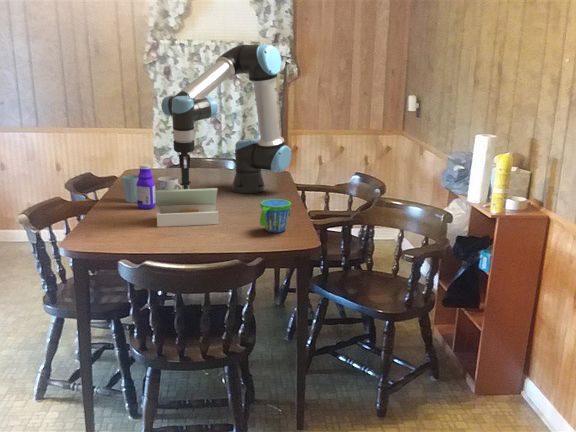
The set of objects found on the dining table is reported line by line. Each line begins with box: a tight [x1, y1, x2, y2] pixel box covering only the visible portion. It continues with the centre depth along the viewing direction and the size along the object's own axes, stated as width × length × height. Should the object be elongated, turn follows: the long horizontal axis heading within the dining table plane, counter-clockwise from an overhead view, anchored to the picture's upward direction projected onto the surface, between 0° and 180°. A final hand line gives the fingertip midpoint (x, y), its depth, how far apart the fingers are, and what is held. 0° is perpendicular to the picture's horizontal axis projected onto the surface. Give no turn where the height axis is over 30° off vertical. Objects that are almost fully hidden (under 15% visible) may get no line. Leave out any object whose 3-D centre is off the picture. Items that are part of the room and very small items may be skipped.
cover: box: [155, 187, 218, 207], centre depth 216 cm, size 22×12×1 cm
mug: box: [157, 176, 182, 190], centre depth 242 cm, size 11×8×10 cm
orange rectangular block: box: [179, 210, 198, 213], centre depth 218 cm, size 7×4×4 cm, turn 98°
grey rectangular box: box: [156, 204, 220, 228], centre depth 217 cm, size 22×12×4 cm, turn 102°
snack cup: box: [259, 198, 292, 234], centre depth 206 cm, size 16×10×10 cm
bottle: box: [136, 163, 157, 210], centre depth 233 cm, size 7×6×17 cm
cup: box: [121, 174, 139, 203], centre depth 244 cm, size 8×8×10 cm
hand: (186, 200), depth 220 cm, fingers closed
